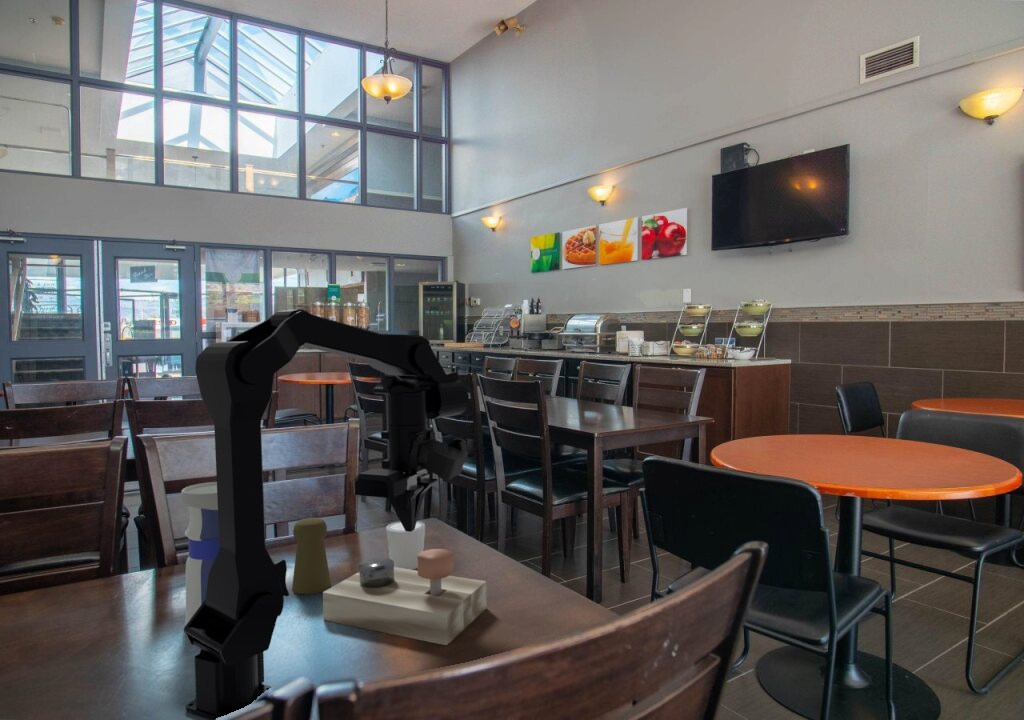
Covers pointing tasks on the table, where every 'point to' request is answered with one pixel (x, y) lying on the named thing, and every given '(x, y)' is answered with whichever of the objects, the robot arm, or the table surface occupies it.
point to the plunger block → (407, 606)
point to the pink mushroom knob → (435, 567)
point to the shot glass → (405, 544)
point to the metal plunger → (376, 572)
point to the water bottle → (200, 541)
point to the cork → (310, 557)
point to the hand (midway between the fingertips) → (409, 530)
